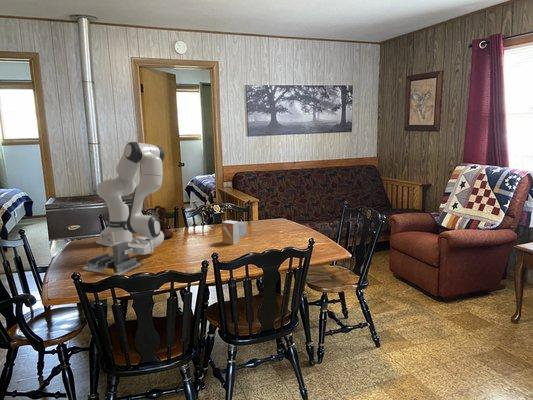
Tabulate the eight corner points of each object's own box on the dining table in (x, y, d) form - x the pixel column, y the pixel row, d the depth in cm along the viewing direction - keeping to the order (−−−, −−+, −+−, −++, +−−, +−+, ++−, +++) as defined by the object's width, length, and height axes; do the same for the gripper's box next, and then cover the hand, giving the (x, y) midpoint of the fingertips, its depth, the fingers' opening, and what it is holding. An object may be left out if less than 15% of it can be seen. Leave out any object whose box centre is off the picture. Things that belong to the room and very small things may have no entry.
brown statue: (145, 236, 253) (143, 206, 249) (167, 233, 261) (166, 203, 258) (154, 241, 241) (152, 209, 238) (177, 237, 250) (175, 206, 246)
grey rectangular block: (114, 265, 191) (112, 245, 189) (124, 261, 197) (122, 241, 196) (118, 266, 190) (117, 246, 188) (129, 262, 196) (127, 242, 194)
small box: (222, 243, 237) (221, 222, 234) (228, 240, 242) (227, 219, 240) (233, 245, 233) (232, 223, 230) (239, 242, 238) (239, 221, 236)
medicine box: (241, 234, 257) (241, 221, 256) (246, 235, 254) (246, 222, 253) (233, 236, 251) (232, 223, 250) (238, 237, 248) (238, 224, 247)
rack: (81, 270, 193) (81, 261, 192) (107, 259, 208) (107, 251, 207) (116, 276, 184) (116, 267, 184) (141, 265, 199) (140, 256, 199)
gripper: (123, 236, 208) (103, 243, 196) (155, 240, 200) (136, 248, 188) (124, 248, 209) (104, 256, 197) (155, 252, 201) (137, 260, 189)
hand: (120, 252), depth 192 cm, fingers closed on grey rectangular block, 3 cm apart
